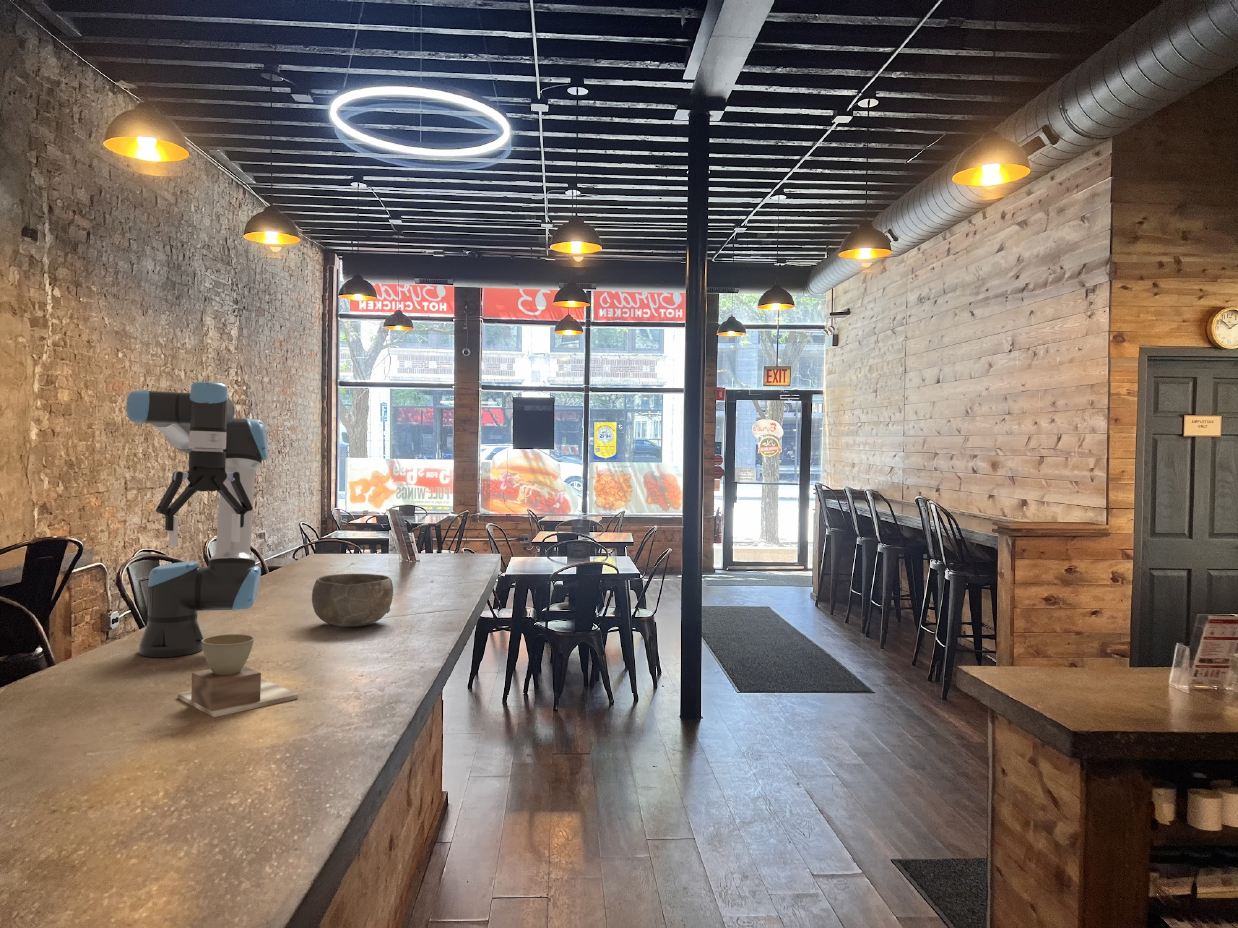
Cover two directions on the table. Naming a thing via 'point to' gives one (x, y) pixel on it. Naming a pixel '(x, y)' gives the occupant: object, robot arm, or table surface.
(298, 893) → the table surface
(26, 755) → the table surface
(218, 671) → the flower pot
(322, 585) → the bowl
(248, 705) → the board
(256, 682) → the pedestal
